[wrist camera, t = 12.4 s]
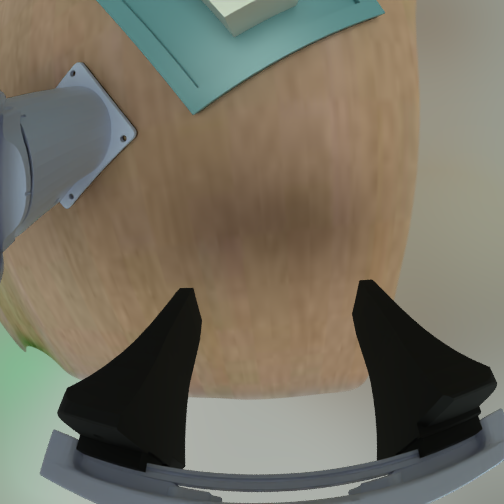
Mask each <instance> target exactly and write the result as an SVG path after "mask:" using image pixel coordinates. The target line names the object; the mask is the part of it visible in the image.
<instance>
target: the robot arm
mask: <svg viewBox="0 0 504 504" xmlns="http://www.w3.org/2000/svg"><path fill="white" fill-rule="evenodd" d="M74 71H75V76H73V73H74ZM136 134H137V133H136V129H135V128H134V127H133V125H132V124H131V123H130V122H129V120H128V119H127V118H126V117H125V115H124V114H123V113H122V112H121V110H120V109H119V108H118V107H117V105H116V104H115V103H114V101H113V100H112V99H111V98H110V96H109V95H108V94H107V93H106V91H105V90H104V89H103V88H102V86H101V85H100V84H99V82H98V81H97V80H96V79H95V77H94V76H93V75H92V73H91V72H90V71H89V70H88V68H87V67H86V66H85V65H84V63H82V62H78V63H76V64H75V65H74V66H73V67H72V68H71V69H70V70H69V72H68V73H67V74H66V75H65V77H64V78H63V79H62V81H61V82H60V83H59V84H58V86H57V87H56V88H55V89H50V90H44V91H38V92H33V93H28V94H23V95H19V96H15V97H10V98H6V96H5V94H4V93H3V92H2V91H0V282H1V279H2V275H3V270H4V260H3V253H2V252H4V251H5V250H6V249H7V248H8V247H9V246H10V245H11V244H12V243H13V242H14V241H15V237H17V236H19V235H20V234H21V233H23V232H24V231H25V230H26V229H27V228H28V227H29V226H31V225H32V224H33V223H34V222H35V221H36V220H38V219H39V218H40V217H41V216H42V215H44V214H45V213H46V212H47V211H49V210H50V209H51V208H52V207H54V206H55V205H56V204H57V203H59V202H60V203H61V204H62V205H63V207H65V208H66V209H68V208H70V207H71V206H72V205H73V204H74V202H75V201H76V200H77V199H78V198H79V196H80V195H81V194H82V193H83V192H84V190H85V189H86V188H87V187H88V186H89V185H90V184H91V182H92V181H93V180H94V179H95V178H96V177H97V176H98V175H99V174H100V172H101V171H102V170H103V169H104V168H105V167H106V166H107V165H108V164H109V163H110V162H111V161H112V160H113V159H114V158H115V157H116V156H117V155H118V154H119V153H120V152H121V151H122V150H123V149H124V148H125V147H126V146H127V145H128V144H129V143H130V142H131V141H132V140H133V139H134V138H135V137H136ZM123 135H125V136H126V138H127V140H126V141H124V140H123ZM72 194H73V196H74V197H72ZM352 316H353V321H354V326H355V331H356V335H357V338H358V341H359V345H360V348H361V351H362V354H363V357H364V360H365V363H366V367H367V370H368V373H369V377H370V381H371V387H372V393H373V399H374V407H375V416H376V428H377V461H374V462H369V463H365V464H360V465H354V466H349V467H343V468H337V469H330V470H323V471H314V472H305V473H291V474H269V475H245V474H223V473H210V472H200V471H192V470H184V469H183V468H184V467H185V428H186V413H187V400H188V392H189V386H190V380H191V376H192V372H193V368H194V363H195V359H196V355H197V351H198V346H199V342H200V334H201V325H202V319H201V315H200V312H199V308H198V304H197V301H196V297H195V293H194V289H193V288H180V289H179V290H178V291H177V292H176V293H175V295H174V296H173V297H172V299H171V300H170V301H169V302H168V304H167V305H166V306H165V307H164V309H163V310H162V311H161V312H160V313H159V315H158V316H157V317H156V318H155V319H154V321H153V322H152V323H151V324H150V325H149V326H148V327H147V328H146V330H145V331H144V332H143V333H142V334H141V335H140V336H139V337H138V338H137V339H136V340H135V341H134V342H133V343H132V344H131V345H130V346H129V347H128V348H127V349H125V350H124V351H123V352H122V353H121V354H120V355H118V356H117V357H116V358H114V359H113V360H112V361H111V362H109V363H108V364H107V365H105V366H104V367H103V368H101V369H100V370H98V371H97V372H95V373H93V374H92V375H90V376H89V377H87V378H85V379H83V380H82V381H80V382H78V383H76V384H74V385H72V386H70V387H68V388H67V390H66V392H65V394H64V397H63V399H62V402H61V404H60V407H59V409H58V412H57V413H58V416H59V418H60V419H61V420H62V421H63V422H64V423H66V424H67V425H68V426H69V427H71V428H72V429H73V430H75V431H76V432H78V433H79V434H80V438H79V440H78V439H76V438H74V437H72V436H69V435H67V434H64V433H61V432H59V431H57V430H53V432H52V435H51V438H50V441H49V444H48V447H47V451H46V454H45V457H44V460H43V464H42V468H41V471H40V474H41V476H43V477H45V478H46V479H48V480H50V481H52V482H54V483H56V484H57V485H59V486H61V487H63V488H65V489H67V490H69V491H71V492H73V493H75V494H77V495H79V496H81V497H83V498H85V499H88V500H90V501H92V502H94V503H97V504H429V503H431V502H433V501H436V500H438V499H440V498H442V497H444V496H446V495H448V494H450V493H452V492H454V491H455V490H457V489H459V488H461V487H463V486H464V485H466V484H468V483H469V482H471V481H473V480H475V479H476V478H478V477H479V476H481V475H483V474H484V473H486V472H487V471H489V470H491V469H492V468H494V467H495V466H497V465H498V464H500V463H501V462H502V461H504V413H503V410H502V409H499V410H497V411H495V412H493V413H491V414H489V415H487V416H486V417H484V418H482V419H481V420H479V417H478V415H479V414H480V413H481V410H480V407H479V406H480V405H481V404H482V403H483V402H484V401H485V400H486V399H487V398H488V397H489V396H490V395H491V394H492V393H493V391H494V390H495V388H496V386H497V382H496V380H495V378H494V375H493V373H492V371H491V369H490V367H488V366H486V365H483V364H481V363H479V362H476V361H475V360H472V359H470V358H468V357H466V356H465V355H463V354H461V353H459V352H457V351H455V350H454V349H452V348H450V347H449V346H447V345H446V344H444V343H443V342H441V341H440V340H438V339H437V338H436V337H434V336H433V335H432V334H430V333H429V332H427V331H426V330H425V329H424V328H423V327H421V326H420V325H419V324H418V323H417V322H416V321H414V320H413V319H412V318H411V317H410V316H409V315H408V314H407V313H406V312H405V311H403V310H402V309H401V308H400V307H399V306H398V305H397V304H396V303H395V302H394V301H393V300H392V299H391V298H390V297H389V296H388V295H387V294H386V293H385V292H384V291H383V290H382V289H381V288H380V287H379V286H378V285H377V284H376V283H375V282H374V281H373V280H360V281H359V285H358V290H357V295H356V299H355V304H354V308H353V312H352ZM388 474H389V475H388ZM385 475H388V476H385ZM380 476H385V477H382V478H379V479H375V480H372V481H369V482H365V483H362V484H361V485H360V486H359V487H357V488H354V489H351V490H349V492H348V493H349V495H347V496H341V497H335V498H327V499H319V500H309V501H298V502H285V503H224V502H222V498H221V497H217V496H213V495H211V494H210V493H209V492H204V491H199V490H193V489H188V488H183V487H179V486H186V487H193V488H201V489H210V490H222V491H240V492H278V491H296V490H307V489H317V488H325V487H332V486H338V485H344V484H349V483H354V482H359V481H364V480H369V479H373V478H377V477H380ZM178 485H179V486H178Z"/></svg>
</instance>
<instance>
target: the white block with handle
mask: <svg viewBox="0 0 504 504" xmlns="http://www.w3.org/2000/svg"><path fill="white" fill-rule="evenodd" d="M202 1H203V3H204V4H205V5H206V6H207V7H208V8H209V9H210V10H211V11H212V12H213V13H214V15H215V16H216V17H217V18H218V19H219V20H220V21H221V22H222V24H223V25H224V26H225V27H226V28H227V29H228V31H229V32H230V33H231V34H232V35H233V37H236V36H238V35H239V34H241V33H243V32H245V31H246V30H248V29H250V28H252V27H254V26H255V25H257V24H259V23H261V22H263V21H265V20H267V19H269V18H271V17H273V16H275V15H277V14H279V13H281V12H283V11H285V10H287V9H290V8H292V7H294V6H296V5H297V2H298V0H202Z"/></svg>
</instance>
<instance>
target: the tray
mask: <svg viewBox="0 0 504 504" xmlns="http://www.w3.org/2000/svg"><path fill="white" fill-rule="evenodd" d="M96 1H97V2H98V3H99V4H100V5H101V6H102V7H103V8H104V9H105V10H106V12H107V13H108V14H109V15H110V16H111V17H112V18H113V19H114V20H115V22H116V23H117V24H118V25H119V26H120V27H121V28H122V30H123V31H124V32H125V33H126V34H127V35H128V37H129V38H130V39H131V40H132V41H133V42H134V43H135V45H136V46H137V47H138V48H139V49H140V51H141V52H142V53H143V54H144V55H145V56H146V58H147V59H148V60H149V61H150V62H151V64H152V65H153V66H154V67H155V68H156V70H157V71H158V72H159V73H160V75H161V76H162V77H163V78H164V79H165V81H166V82H167V83H168V84H169V86H170V87H171V88H172V89H173V91H174V92H175V93H176V94H177V96H178V97H179V98H180V99H181V101H182V102H183V103H184V104H185V106H186V107H187V108H188V109H189V111H190V112H191V113H192V114H193V115H194V114H197V113H199V112H200V111H202V110H203V109H204V108H206V107H207V106H208V105H210V104H211V103H213V102H214V101H216V100H217V99H218V98H220V97H221V96H223V95H224V94H226V93H227V92H229V91H230V90H232V89H233V88H235V87H236V86H238V85H239V84H241V83H243V82H244V81H246V80H247V79H249V78H251V77H252V76H254V75H255V74H257V73H259V72H261V71H262V70H264V69H266V68H267V67H269V66H271V65H273V64H274V63H276V62H278V61H280V60H282V59H283V58H285V57H287V56H289V55H291V54H293V53H295V52H297V51H299V50H301V49H303V48H305V47H307V46H309V45H311V44H313V43H315V42H317V41H319V40H321V39H323V38H326V37H328V36H330V35H332V34H335V33H337V32H339V31H342V30H344V29H347V28H349V27H352V26H354V25H357V24H359V23H362V22H365V21H367V20H370V19H373V18H376V17H378V16H380V15H382V14H384V13H385V12H384V10H383V9H382V8H381V6H380V5H379V3H378V2H377V1H376V0H298V2H297V5H296V6H294V7H292V8H290V9H287V10H285V11H283V12H281V13H279V14H277V15H275V16H273V17H271V18H269V19H267V20H265V21H263V22H261V23H259V24H257V25H255V26H254V27H252V28H250V29H248V30H246V31H245V32H243V33H241V34H239V35H238V36H236V37H233V35H232V34H231V33H230V32H229V31H228V29H227V28H226V27H225V26H224V25H223V24H222V22H221V21H220V20H219V19H218V18H217V17H216V16H215V15H214V13H213V12H212V11H211V10H210V9H209V8H208V7H207V6H206V5H205V4H204V3H203V1H202V0H96Z"/></svg>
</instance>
